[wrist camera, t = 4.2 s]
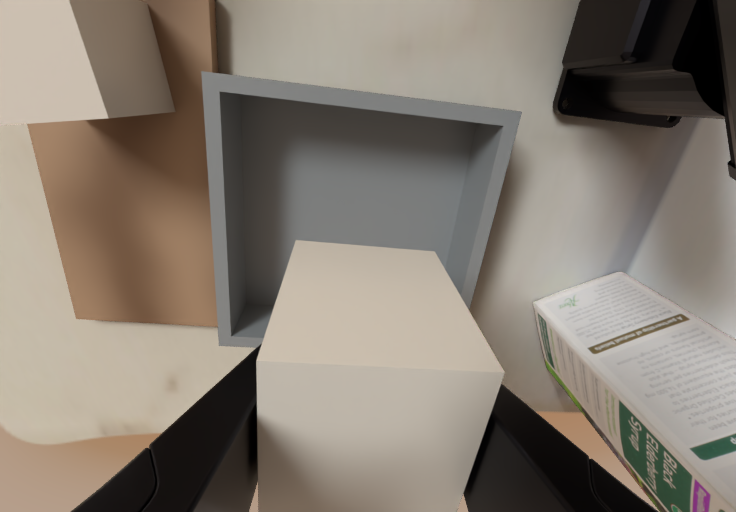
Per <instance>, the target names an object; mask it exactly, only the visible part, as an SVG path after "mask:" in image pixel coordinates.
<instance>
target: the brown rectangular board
mask: <svg viewBox="0 0 736 512" xmlns="http://www.w3.org/2000/svg"><path fill="white" fill-rule="evenodd" d="M140 1H142V2H144V3H147V5H148V9H149V12H150V16H151V20H152V24H153V28H154V31H155V35H156V39H157V43H158V47H159V51H160V54H161V58H162V62H163V66H164V70H165V74H166V77H167V81H168V85H169V89H170V93H171V96H172V100H173V104H174V108H175V112H169V113H159V114H149V115H138V116H128V117H117V118H106V119H91V120H76V121H62V122H47V123H32V124H27V125H28V129H29V133H30V137H31V141H32V145H33V149H34V153H35V157H36V161H37V165H38V169H39V172H40V176H41V180H42V184H43V188H44V192H45V196H46V200H47V204H48V208H49V212H50V216H51V220H52V224H53V228H54V232H55V236H56V240H57V244H58V248H59V252H60V256H61V260H62V264H63V268H64V272H65V276H66V280H67V284H68V288H69V292H70V296H71V300H72V304H73V308H74V312H75V316H76V319H87V320H105V321H123V322H142V323H160V324H179V325H197V326H215V327H218V322H217V306H216V291H215V275H214V260H213V244H212V229H211V213H210V198H209V182H208V167H207V151H206V136H205V120H204V105H203V89H202V74H201V71H204V72H212V73H218V55H217V34H216V13H215V0H140Z"/></svg>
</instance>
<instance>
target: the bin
mask: <svg viewBox="0 0 736 512" xmlns="http://www.w3.org/2000/svg"><path fill="white" fill-rule="evenodd" d="M201 74H202V89H203V105H204V120H205V136H206V151H207V167H208V182H209V198H210V213H211V229H212V244H213V260H214V275H215V291H216V306H217V322H218V337H219V346H234V347H254V348H257V347H258V346H259V345H260V344H261V343H262V342H263V339H264V336H265V333H266V330H267V327H268V324H269V321H270V318H271V315H272V311H273V308H274V305H275V302H276V299H277V296H278V293H279V290H280V287H281V284H282V281H283V278H284V275H285V272H286V269H287V266H288V263H289V260H290V256H291V253H292V250H293V247H294V244H295V241H296V240H301V241H314V242H326V243H338V244H350V245H362V246H374V247H387V248H399V249H411V250H423V251H435V253H436V255H437V256H438V258H439V260H440V261H441V263H442V265H443V267H444V268H445V270H446V272H447V274H448V275H449V277H450V279H451V280H452V282H453V284H454V286H455V287H456V289H457V291H458V293H459V294H460V296H461V298H462V299H463V301H464V303H465V305H466V306H467V308H468V310H469V309H470V305H471V302H472V298H473V294H474V290H475V287H476V283H477V279H478V275H479V272H480V268H481V264H482V260H483V256H484V253H485V249H486V245H487V241H488V238H489V234H490V230H491V226H492V223H493V219H494V215H495V211H496V208H497V204H498V200H499V196H500V193H501V189H502V185H503V181H504V178H505V174H506V170H507V166H508V162H509V159H510V155H511V151H512V147H513V144H514V140H515V136H516V132H517V129H518V125H519V121H520V117H521V114H522V112H520V111H512V110H504V109H496V108H489V107H481V106H473V105H465V104H457V103H449V102H441V101H433V100H425V99H418V98H410V97H402V96H394V95H386V94H378V93H370V92H362V91H354V90H346V89H339V88H331V87H323V86H315V85H307V84H299V83H291V82H283V81H275V80H267V79H260V78H252V77H244V76H236V75H228V74H220V73H212V72H204V71H201Z"/></svg>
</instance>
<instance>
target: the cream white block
mask: <svg viewBox="0 0 736 512" xmlns="http://www.w3.org/2000/svg"><path fill="white" fill-rule="evenodd" d="M169 112H175V108H174V104H173V100H172V96H171V93H170V89H169V85H168V81H167V77H166V74H165V70H164V66H163V62H162V58H161V54H160V51H159V47H158V43H157V39H156V35H155V31H154V28H153V24H152V20H151V16H150V12H149V9H148V5H147V3H144V2H142V1H140V0H0V126H2V125H17V124H32V123H47V122H62V121H76V120H91V119H106V118H117V117H128V116H138V115H149V114H159V113H169Z"/></svg>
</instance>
